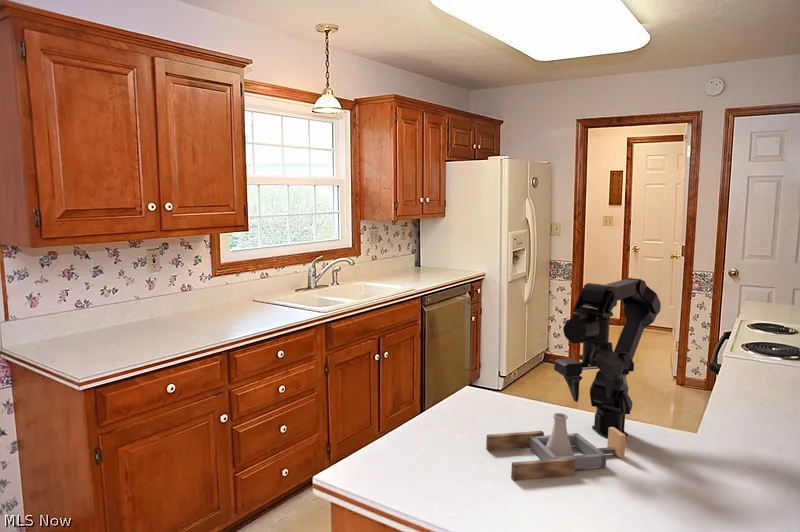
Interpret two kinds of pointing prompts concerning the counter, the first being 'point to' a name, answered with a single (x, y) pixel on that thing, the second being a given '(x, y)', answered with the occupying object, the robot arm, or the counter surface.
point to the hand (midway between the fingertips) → (592, 399)
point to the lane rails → (530, 468)
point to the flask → (559, 437)
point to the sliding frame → (583, 449)
